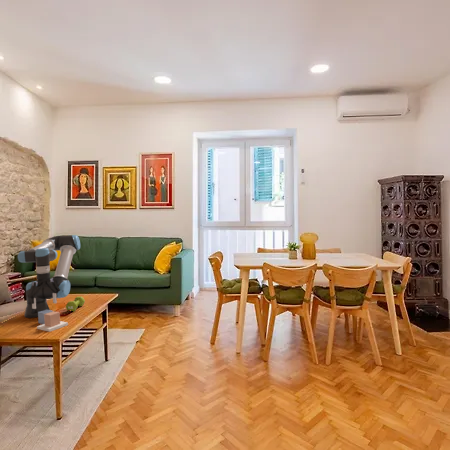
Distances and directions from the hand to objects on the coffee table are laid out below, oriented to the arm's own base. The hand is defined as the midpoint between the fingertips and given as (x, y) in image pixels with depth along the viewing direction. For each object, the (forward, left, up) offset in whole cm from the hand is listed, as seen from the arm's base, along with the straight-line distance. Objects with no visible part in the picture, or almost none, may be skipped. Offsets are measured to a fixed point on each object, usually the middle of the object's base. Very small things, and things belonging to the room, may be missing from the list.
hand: (44, 305), depth 201 cm
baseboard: (+13, -4, -11) cm, 17 cm away
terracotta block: (+13, -4, -9) cm, 16 cm away
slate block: (0, 0, -11) cm, 11 cm away
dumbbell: (-8, +28, -11) cm, 31 cm away
